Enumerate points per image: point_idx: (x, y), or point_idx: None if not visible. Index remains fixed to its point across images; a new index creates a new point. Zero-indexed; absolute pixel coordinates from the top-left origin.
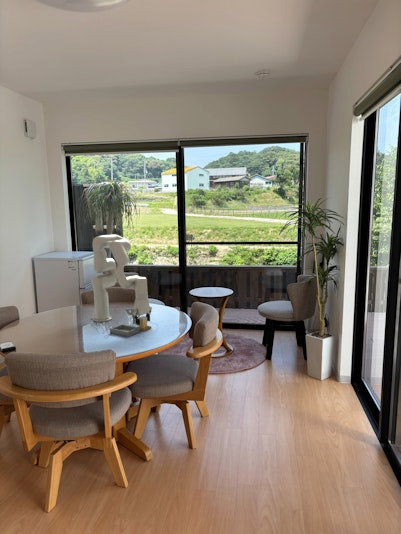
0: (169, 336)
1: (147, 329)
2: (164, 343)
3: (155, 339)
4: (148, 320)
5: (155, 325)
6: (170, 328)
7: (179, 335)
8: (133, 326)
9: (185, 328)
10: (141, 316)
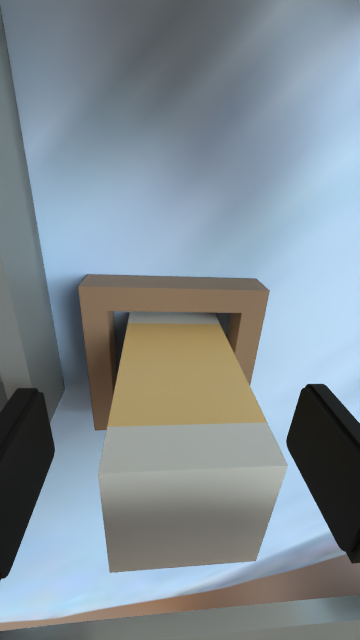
0: (128, 578)
1: None
2: (4, 616)
3: (16, 564)
4: (293, 441)
5: (356, 371)
6: (297, 505)
7: (178, 595)
8: (9, 329)
9: (325, 557)
10: (241, 474)
